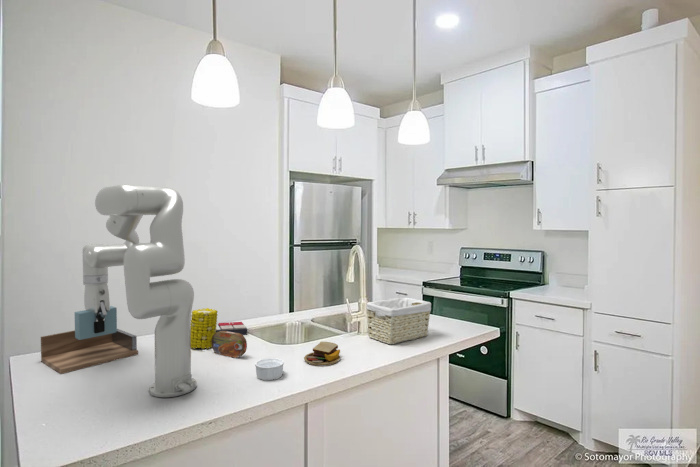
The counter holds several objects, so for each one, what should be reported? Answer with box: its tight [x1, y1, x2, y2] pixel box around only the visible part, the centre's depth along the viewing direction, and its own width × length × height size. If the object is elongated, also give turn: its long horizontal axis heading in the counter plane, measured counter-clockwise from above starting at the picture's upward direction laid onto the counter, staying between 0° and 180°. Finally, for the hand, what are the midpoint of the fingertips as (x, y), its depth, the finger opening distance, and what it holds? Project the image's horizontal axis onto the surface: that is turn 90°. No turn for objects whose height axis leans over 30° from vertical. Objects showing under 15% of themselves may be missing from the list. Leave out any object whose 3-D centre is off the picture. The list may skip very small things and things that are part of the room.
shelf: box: [40, 328, 139, 375], centre depth 146 cm, size 18×24×8 cm
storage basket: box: [366, 296, 432, 345], centre depth 174 cm, size 24×16×15 cm
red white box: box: [216, 321, 248, 336], centre depth 178 cm, size 11×4×15 cm
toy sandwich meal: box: [303, 341, 341, 366], centre depth 146 cm, size 12×14×5 cm
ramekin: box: [254, 357, 285, 381], centre depth 131 cm, size 9×9×4 cm
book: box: [74, 305, 118, 340], centre depth 148 cm, size 4×12×9 cm, turn 142°
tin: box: [211, 331, 248, 359], centre depth 150 cm, size 15×3×8 cm, turn 62°
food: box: [190, 307, 218, 350], centre depth 160 cm, size 15×12×10 cm
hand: (96, 330), depth 148 cm, fingers closed on book, 4 cm apart
